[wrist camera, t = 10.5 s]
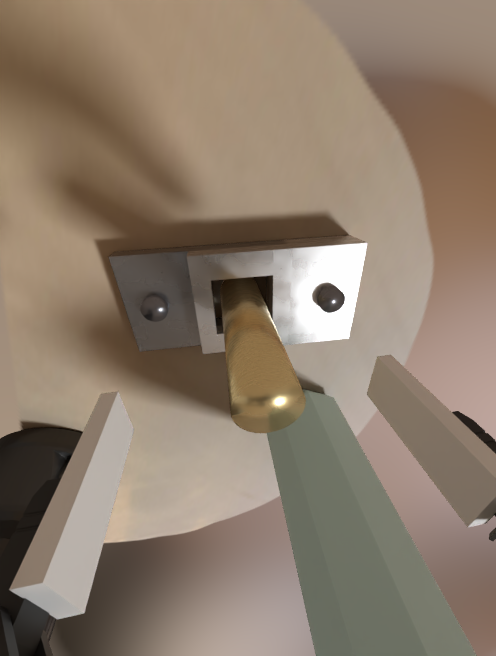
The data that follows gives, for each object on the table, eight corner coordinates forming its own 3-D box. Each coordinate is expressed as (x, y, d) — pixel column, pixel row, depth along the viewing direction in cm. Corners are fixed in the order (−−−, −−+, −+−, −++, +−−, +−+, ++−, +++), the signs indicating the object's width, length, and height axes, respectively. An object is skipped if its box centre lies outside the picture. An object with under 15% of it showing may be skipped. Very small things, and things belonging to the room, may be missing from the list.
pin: (221, 310, 25) (233, 437, 13) (218, 274, 23) (227, 384, 11) (258, 306, 25) (303, 427, 13) (257, 271, 23) (308, 375, 11)
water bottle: (265, 387, 31) (388, 861, 10) (343, 381, 32) (606, 790, 11) (260, 439, 36) (334, 821, 15) (328, 432, 37) (486, 776, 16)
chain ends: (143, 342, 25) (133, 366, 22) (114, 251, 21) (97, 265, 17) (335, 322, 27) (351, 342, 24) (349, 235, 22) (372, 244, 19)
